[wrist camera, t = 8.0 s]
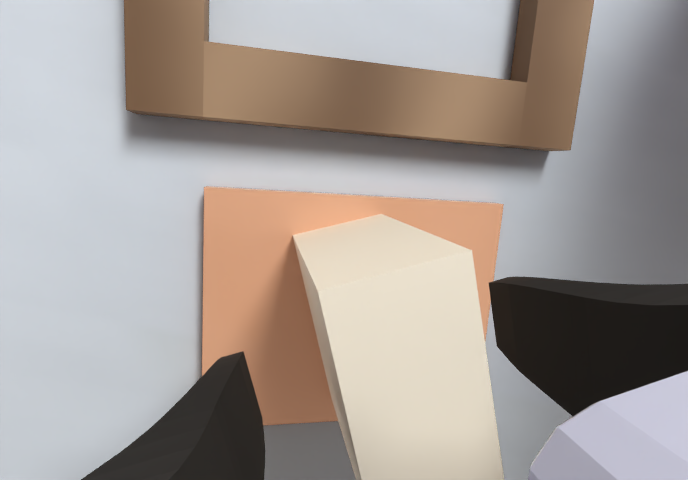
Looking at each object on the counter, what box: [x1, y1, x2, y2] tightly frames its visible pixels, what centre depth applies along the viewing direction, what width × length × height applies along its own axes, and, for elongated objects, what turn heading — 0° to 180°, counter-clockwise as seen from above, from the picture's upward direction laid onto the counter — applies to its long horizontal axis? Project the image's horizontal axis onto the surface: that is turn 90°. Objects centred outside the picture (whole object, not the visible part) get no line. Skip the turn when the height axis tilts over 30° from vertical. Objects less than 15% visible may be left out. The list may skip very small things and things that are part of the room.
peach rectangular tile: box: [202, 186, 504, 425], centre depth 14 cm, size 10×8×1 cm
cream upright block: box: [293, 214, 504, 480], centre depth 11 cm, size 3×6×6 cm, turn 11°
